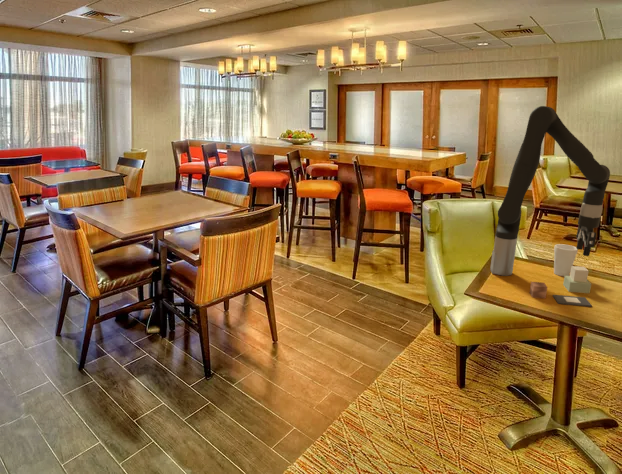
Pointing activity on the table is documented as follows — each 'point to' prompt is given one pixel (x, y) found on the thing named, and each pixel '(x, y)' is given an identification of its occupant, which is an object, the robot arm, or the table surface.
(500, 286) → the table surface
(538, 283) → the terracotta cube
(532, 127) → the robot arm
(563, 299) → the card
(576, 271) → the cream cube
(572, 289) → the green block
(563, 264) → the foam cup
